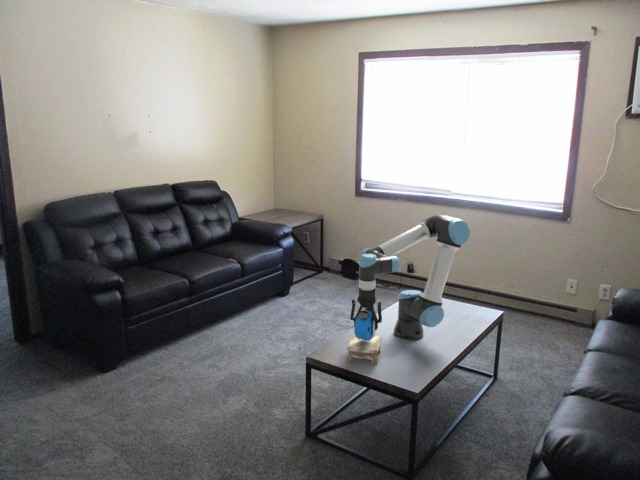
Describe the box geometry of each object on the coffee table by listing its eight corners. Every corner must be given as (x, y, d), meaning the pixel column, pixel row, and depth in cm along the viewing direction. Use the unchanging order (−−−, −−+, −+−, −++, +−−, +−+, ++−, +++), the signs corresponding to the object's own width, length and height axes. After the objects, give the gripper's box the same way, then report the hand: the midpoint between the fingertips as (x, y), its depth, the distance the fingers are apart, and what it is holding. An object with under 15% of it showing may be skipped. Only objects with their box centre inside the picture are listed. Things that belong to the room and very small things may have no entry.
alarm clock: (365, 332, 256) (366, 303, 253) (377, 335, 254) (378, 305, 250) (353, 342, 245) (354, 312, 242) (366, 345, 242) (367, 314, 239)
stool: (381, 351, 258) (382, 336, 256) (377, 366, 242) (378, 350, 241) (352, 347, 261) (353, 333, 259) (346, 362, 246) (347, 347, 244)
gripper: (390, 287, 245) (388, 333, 250) (346, 283, 249) (345, 329, 255) (388, 292, 238) (386, 340, 243) (343, 288, 242) (342, 335, 248)
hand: (365, 334), depth 249 cm, fingers closed on alarm clock, 7 cm apart
